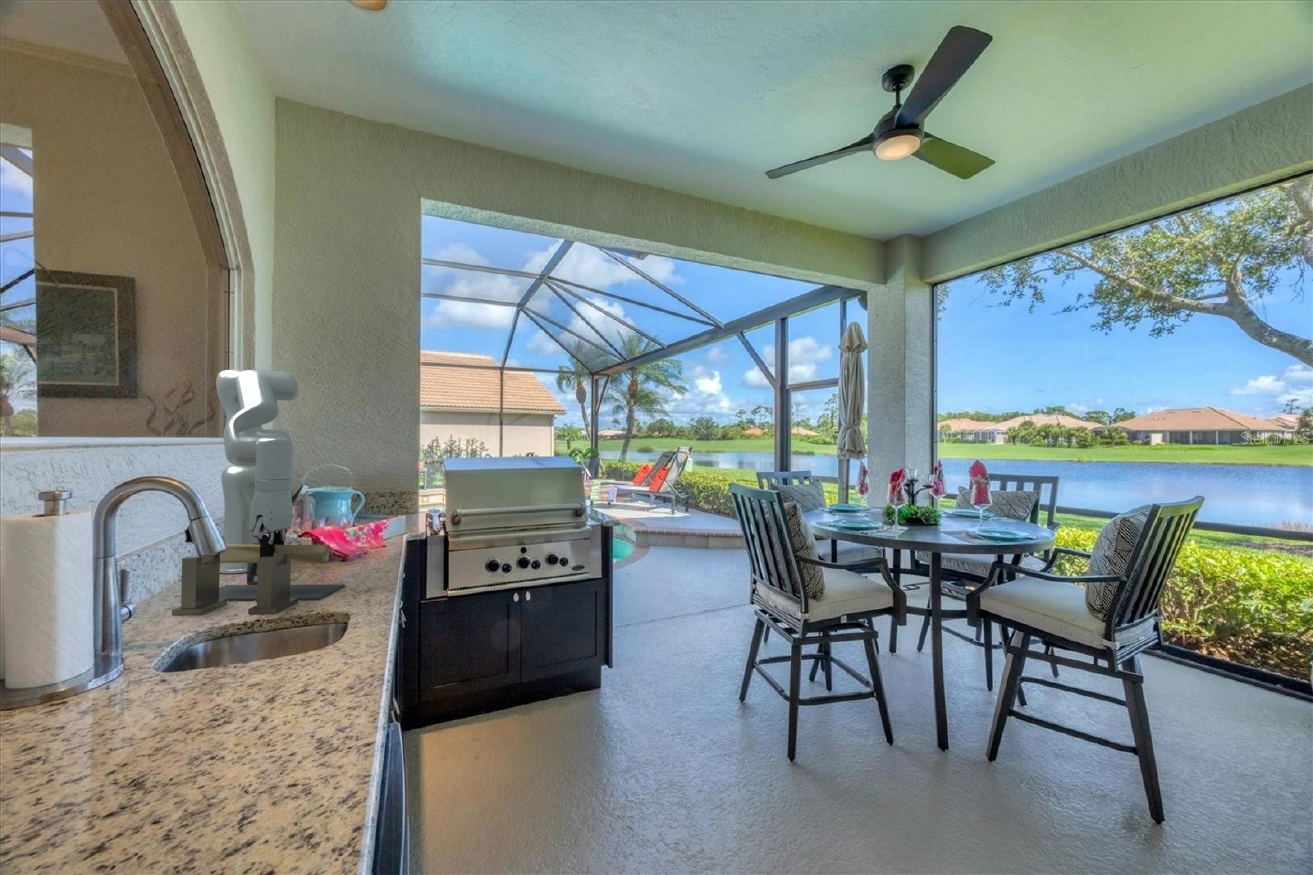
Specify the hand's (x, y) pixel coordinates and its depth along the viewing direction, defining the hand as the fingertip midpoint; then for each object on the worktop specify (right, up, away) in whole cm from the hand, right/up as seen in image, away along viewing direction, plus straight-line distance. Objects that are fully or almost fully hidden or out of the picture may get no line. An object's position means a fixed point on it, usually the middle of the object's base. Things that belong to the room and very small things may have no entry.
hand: (272, 557), depth 132 cm
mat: (0, -9, 0) cm, 9 cm away
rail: (0, -1, 0) cm, 1 cm away
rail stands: (+1, -9, -12) cm, 15 cm away
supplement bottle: (-10, -9, +9) cm, 16 cm away
